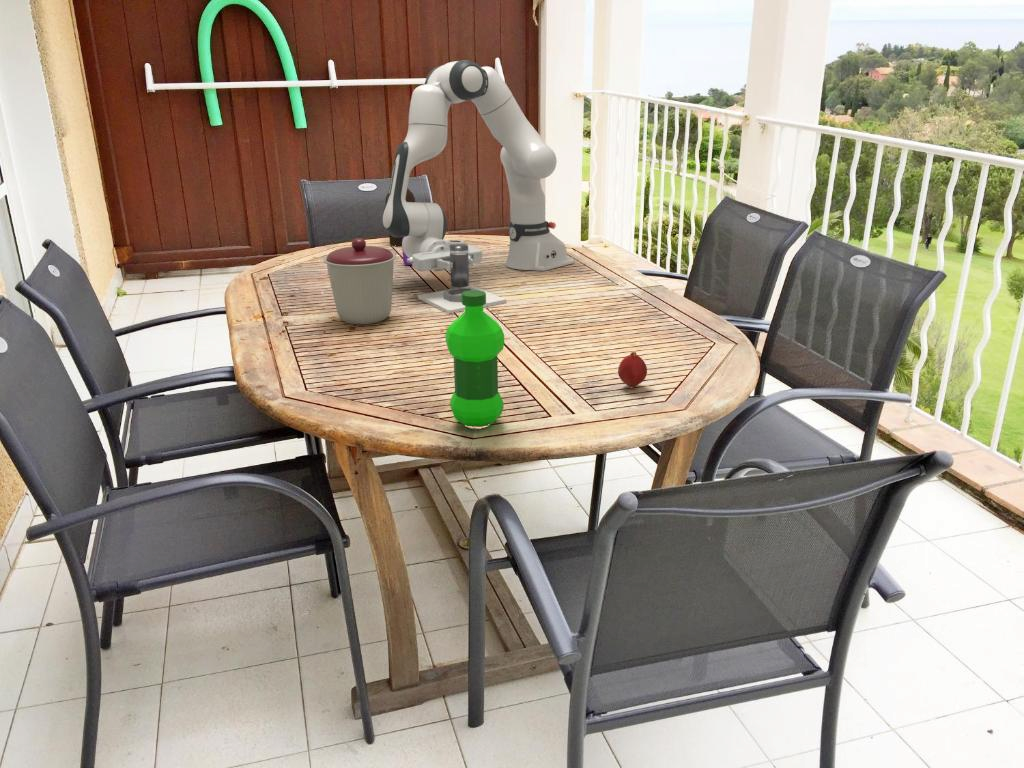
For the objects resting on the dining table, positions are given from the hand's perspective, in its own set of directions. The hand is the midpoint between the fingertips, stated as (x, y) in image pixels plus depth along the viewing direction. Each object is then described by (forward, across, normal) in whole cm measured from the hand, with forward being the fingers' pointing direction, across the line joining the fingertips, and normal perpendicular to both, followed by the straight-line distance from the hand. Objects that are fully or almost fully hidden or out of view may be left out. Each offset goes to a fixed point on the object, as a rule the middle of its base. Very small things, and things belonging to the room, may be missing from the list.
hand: (460, 264), depth 221 cm
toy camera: (-48, +12, +11) cm, 51 cm away
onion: (+74, -2, +10) cm, 75 cm away
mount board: (-1, 0, +10) cm, 11 cm away
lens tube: (-1, 0, +6) cm, 6 cm away
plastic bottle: (+71, -38, +11) cm, 81 cm away
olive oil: (-77, +19, +11) cm, 80 cm away
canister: (-1, -29, +11) cm, 31 cm away
